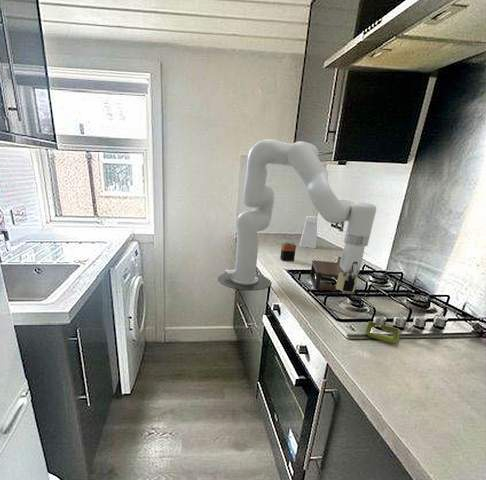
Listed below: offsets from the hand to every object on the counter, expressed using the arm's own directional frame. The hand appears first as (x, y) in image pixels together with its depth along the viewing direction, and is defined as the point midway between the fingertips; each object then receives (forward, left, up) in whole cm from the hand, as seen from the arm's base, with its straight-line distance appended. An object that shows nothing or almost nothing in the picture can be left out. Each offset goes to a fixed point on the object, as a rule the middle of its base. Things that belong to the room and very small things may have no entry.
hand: (345, 287), depth 110 cm
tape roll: (0, 0, -1) cm, 1 cm away
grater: (-4, +101, -7) cm, 101 cm away
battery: (-19, +58, -7) cm, 61 cm away
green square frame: (+7, -21, -7) cm, 24 cm away
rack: (-3, +22, -7) cm, 23 cm away
